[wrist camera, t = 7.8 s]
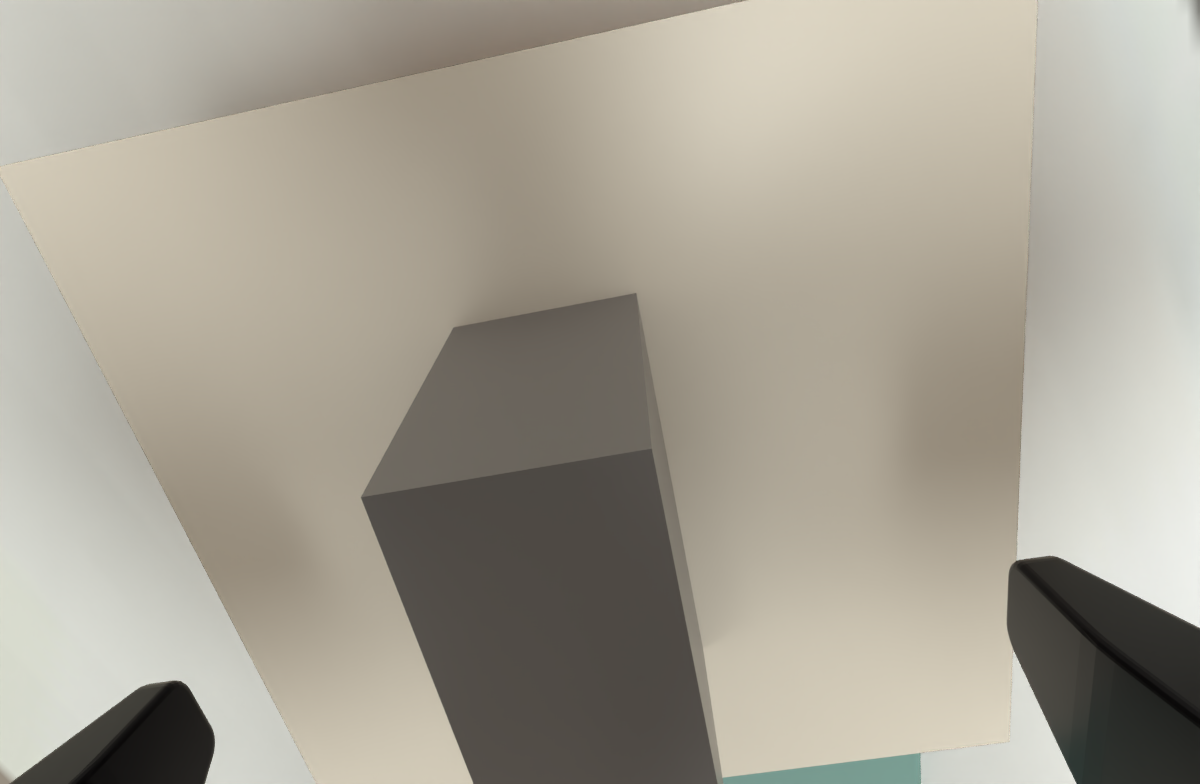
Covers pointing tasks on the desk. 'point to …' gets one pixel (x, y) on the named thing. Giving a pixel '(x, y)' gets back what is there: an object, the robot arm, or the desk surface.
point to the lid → (593, 389)
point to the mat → (843, 773)
